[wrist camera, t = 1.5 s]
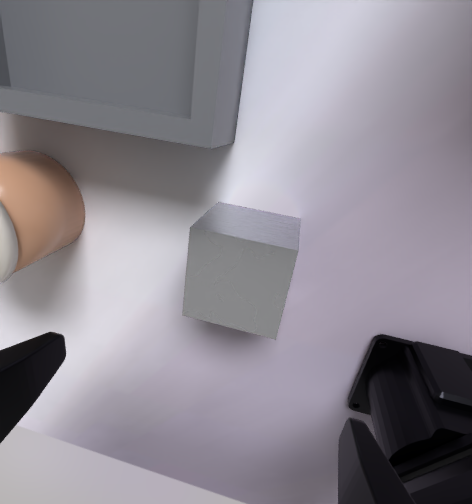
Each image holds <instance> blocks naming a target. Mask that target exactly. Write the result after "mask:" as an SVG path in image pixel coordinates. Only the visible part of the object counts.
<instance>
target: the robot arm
mask: <svg viewBox="0 0 472 504" xmlns="http://www.w3.org/2000/svg"><path fill="white" fill-rule="evenodd" d="M380 342H385V343H384V344H379V343H380ZM65 357H66V347H65V338H64V336H63V335H62V334H59V333H55V332H48V333H45V334H43V335H40V336H37V337H35V338H32V339H29V340H27V341H24V342H21V343H19V344H16V345H13V346H11V347H8V348H6V349H3V350H0V443H1V442H2V441H3V440H4V438H5V437H6V436H7V435H8V434H9V433H10V431H11V430H12V429H13V428H14V427H15V425H16V424H17V423H18V422H19V421H20V420H21V418H22V417H23V416H24V415H25V414H26V413H27V411H28V410H29V409H30V408H31V406H32V405H33V404H34V402H35V401H36V400H37V398H38V397H39V396H40V394H41V393H42V391H43V390H44V389H45V387H46V386H47V384H48V383H49V382H50V380H51V379H52V377H53V376H54V374H55V373H56V372H57V370H58V369H59V367H60V366H61V365H62V363H63V362H64V360H65ZM348 405H349V408H351V409H352V410H354V411H358V412H361V413H365V414H369V415H371V417H372V421H373V426H374V430H375V435H376V440H377V441H376V440H375V438H374V436H373V435H372V433H371V432H370V430H369V428H368V427H367V425H366V424H365V423H364V422H363V421H361V420H358V419H354V418H348V419H347V421H346V423H345V425H344V428H343V430H342V432H341V435H340V438H339V454H338V504H472V356H470V355H466V354H462V353H459V352H458V351H454V350H450V349H446V348H442V347H438V346H434V345H430V344H426V343H422V342H413V341H409V340H404V339H400V338H396V337H392V336H388V335H383V334H380V335H377V336H375V337H374V339H373V341H372V344H371V346H370V348H369V351H368V353H367V355H366V358H365V360H364V363H363V365H362V367H361V370H360V372H359V374H358V377H357V379H356V382H355V384H354V386H353V389H352V391H351V393H350V396H349V398H348Z"/></svg>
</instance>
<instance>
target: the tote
mask: <svg viewBox="0 0 472 504" xmlns="http://www.w3.org/2000/svg"><path fill="white" fill-rule="evenodd" d="M252 6H253V0H0V112H6V113H12V114H17V115H23V116H28V117H34V118H40V119H45V120H51V121H57V122H62V123H68V124H74V125H79V126H85V127H90V128H96V129H102V130H107V131H113V132H119V133H124V134H130V135H135V136H141V137H147V138H152V139H158V140H164V141H169V142H175V143H180V144H186V145H192V146H197V147H203V148H209V149H213V148H217V147H220V146H224V145H227V144H231V143H234V140H235V133H236V125H237V118H238V110H239V103H240V95H241V88H242V80H243V73H244V65H245V58H246V50H247V43H248V36H249V28H250V21H251V13H252Z"/></svg>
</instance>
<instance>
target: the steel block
mask: <svg viewBox="0 0 472 504" xmlns="http://www.w3.org/2000/svg"><path fill="white" fill-rule="evenodd" d="M300 221H301V218H296V217H291V216H286V215H281V214H276V213H271V212H266V211H261V210H256V209H251V208H246V207H242V206H237V205H232V204H227V203H222V202H218V203H216V204H215V205H214V206H213V207H212V208H211V209H210V210H209V211H207V212H206V213H205V214H204V215H203V216H202V217H201V218H200V219H198V220H197V221H196V222H195V223H194V224H193V225H192V226H191V227H190V234H189V245H188V257H187V268H186V280H185V291H184V303H183V314H182V315H183V316H187V317H191V318H195V319H198V320H202V321H206V322H210V323H214V324H218V325H222V326H225V327H229V328H233V329H237V330H241V331H245V332H248V333H252V334H256V335H260V336H264V337H268V338H272V339H275V340H276V337H277V333H278V329H279V325H280V321H281V317H282V313H283V309H284V305H285V301H286V297H287V293H288V289H289V286H290V282H291V278H292V274H293V270H294V266H295V262H296V258H297V254H298V249H299V235H300Z"/></svg>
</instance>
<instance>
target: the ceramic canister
mask: <svg viewBox="0 0 472 504" xmlns="http://www.w3.org/2000/svg"><path fill="white" fill-rule="evenodd" d="M84 222H85V207H84V202H83V198H82V195H81V193H80V190H79V188H78V186H77V184H76V183H75V181H74V179H73V178H72V177H71V175H70V174H69V173H68V172H67V171H66V169H65V168H64V167H63V166H61V165H60V164H59V163H58V162H57V161H55V160H54V159H52V158H51V157H49V156H47V155H45V154H42V153H40V152H36V151H30V150H25V151H13V152H3V153H0V284H1V283H3V282H5V281H6V280H7V279H8V278H9V277H10V276H11V275H12V274H13V273H14V272H16V271H18V270H20V269H22V268H24V267H26V266H28V265H30V264H32V263H34V262H36V261H38V260H40V259H42V258H44V257H46V256H48V255H50V254H52V253H53V252H55V251H57V250H59V249H61V248H63V247H65V246H67V245H69V244H71V243H72V242H74V241H75V240H76V239H77V238H78V237H79V235H80V234H81V232H82V230H83V226H84Z"/></svg>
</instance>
